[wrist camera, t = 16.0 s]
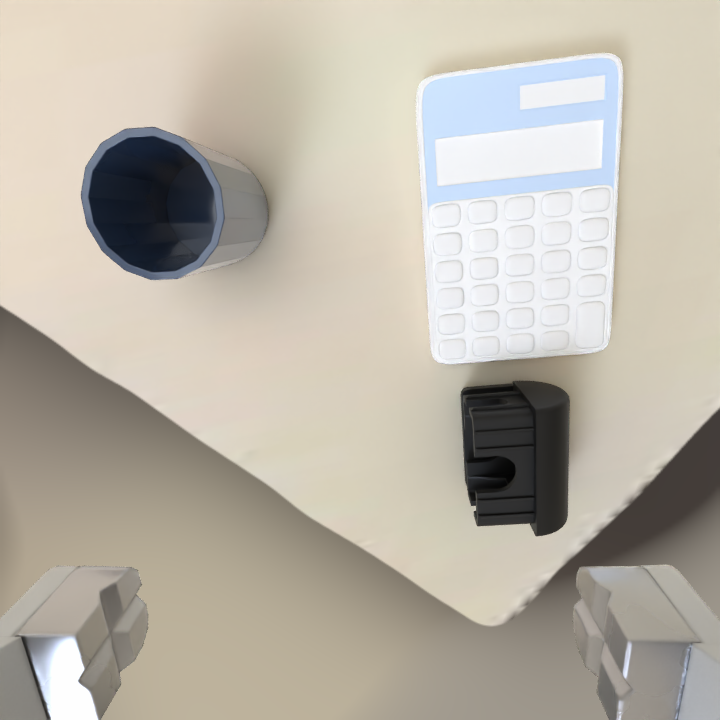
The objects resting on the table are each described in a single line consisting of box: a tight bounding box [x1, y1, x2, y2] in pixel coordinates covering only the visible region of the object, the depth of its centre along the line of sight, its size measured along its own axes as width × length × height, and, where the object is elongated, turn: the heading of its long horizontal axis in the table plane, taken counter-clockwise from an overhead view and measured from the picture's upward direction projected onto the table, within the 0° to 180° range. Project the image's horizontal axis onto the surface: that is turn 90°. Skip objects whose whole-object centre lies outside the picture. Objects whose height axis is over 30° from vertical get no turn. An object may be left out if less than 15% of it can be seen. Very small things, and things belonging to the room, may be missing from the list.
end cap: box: [461, 381, 570, 536], centre depth 36 cm, size 10×7×7 cm
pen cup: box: [81, 127, 268, 280], centre depth 30 cm, size 8×8×10 cm
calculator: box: [416, 53, 623, 364], centre depth 33 cm, size 13×20×2 cm, turn 6°
